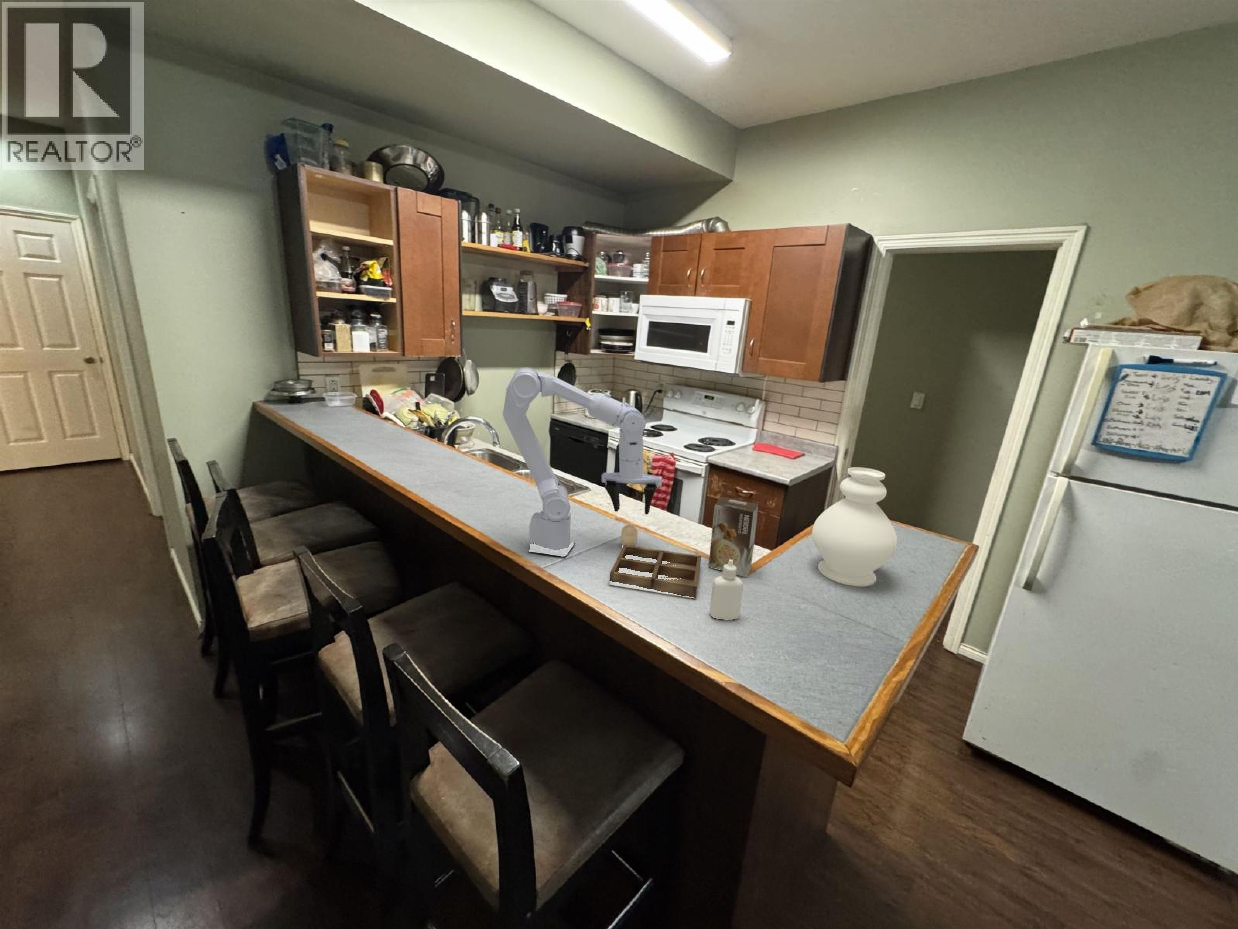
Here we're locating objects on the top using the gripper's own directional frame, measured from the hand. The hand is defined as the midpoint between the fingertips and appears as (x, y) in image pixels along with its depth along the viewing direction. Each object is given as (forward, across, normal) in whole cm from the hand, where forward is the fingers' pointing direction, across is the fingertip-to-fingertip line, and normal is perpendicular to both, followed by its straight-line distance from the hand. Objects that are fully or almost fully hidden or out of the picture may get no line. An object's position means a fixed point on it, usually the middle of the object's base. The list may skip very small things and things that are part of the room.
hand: (632, 511), depth 119 cm
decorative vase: (+14, -51, -6) cm, 53 cm away
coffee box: (+12, -24, +2) cm, 27 cm away
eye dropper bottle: (+11, -24, +22) cm, 35 cm away
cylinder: (+10, +1, 0) cm, 10 cm away
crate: (+10, -9, +12) cm, 18 cm away
